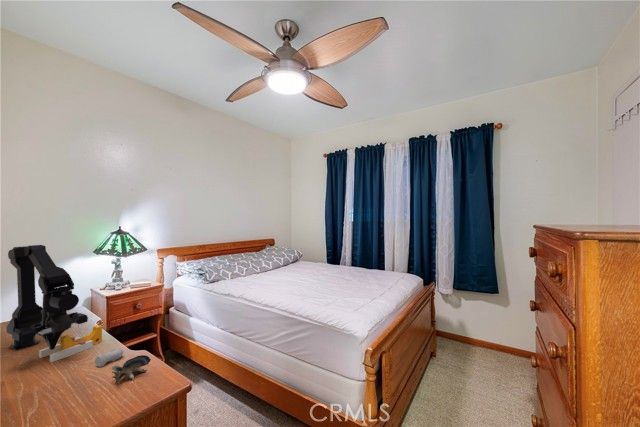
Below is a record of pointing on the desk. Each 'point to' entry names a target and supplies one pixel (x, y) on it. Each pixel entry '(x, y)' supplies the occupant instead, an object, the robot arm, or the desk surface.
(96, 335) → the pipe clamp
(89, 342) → the guide channel
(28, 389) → the desk surface
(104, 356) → the smooth white sculpture
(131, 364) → the dark grey animal figurine
